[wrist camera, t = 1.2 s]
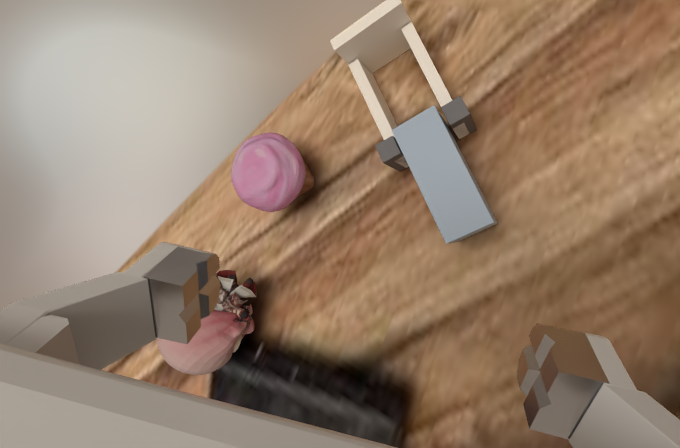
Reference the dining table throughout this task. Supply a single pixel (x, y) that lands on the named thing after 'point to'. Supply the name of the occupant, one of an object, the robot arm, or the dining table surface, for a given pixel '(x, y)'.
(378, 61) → the frame
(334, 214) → the dining table surface
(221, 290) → the toy
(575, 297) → the dining table surface
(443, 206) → the grey rectangular box
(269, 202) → the cupcake
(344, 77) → the dining table surface
